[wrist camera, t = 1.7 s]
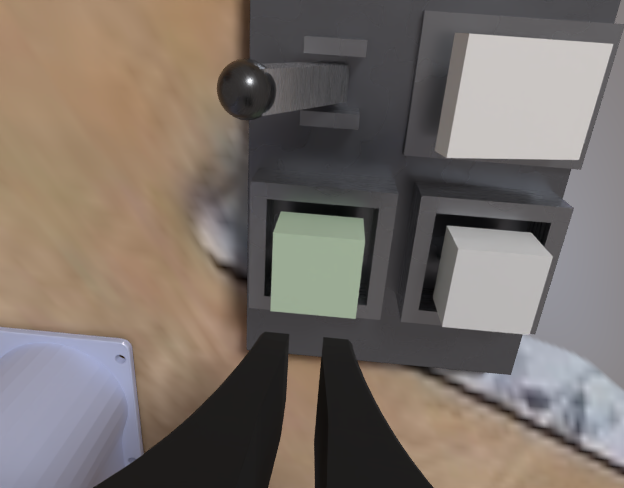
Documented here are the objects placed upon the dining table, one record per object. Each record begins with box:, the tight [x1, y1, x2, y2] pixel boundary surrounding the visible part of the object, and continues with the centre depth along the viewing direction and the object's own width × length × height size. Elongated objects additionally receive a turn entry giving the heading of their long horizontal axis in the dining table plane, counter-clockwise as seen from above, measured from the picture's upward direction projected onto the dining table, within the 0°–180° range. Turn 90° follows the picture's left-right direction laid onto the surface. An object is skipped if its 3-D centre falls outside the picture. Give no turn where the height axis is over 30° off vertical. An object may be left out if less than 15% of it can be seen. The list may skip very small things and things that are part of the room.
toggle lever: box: [217, 59, 350, 120], centre depth 15 cm, size 2×2×5 cm
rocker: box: [435, 33, 613, 160], centre depth 15 cm, size 4×5×1 cm
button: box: [270, 211, 365, 319], centre depth 17 cm, size 3×3×2 cm
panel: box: [247, 0, 624, 375], centre depth 18 cm, size 18×12×3 cm
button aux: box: [433, 226, 553, 335], centre depth 17 cm, size 3×3×2 cm
